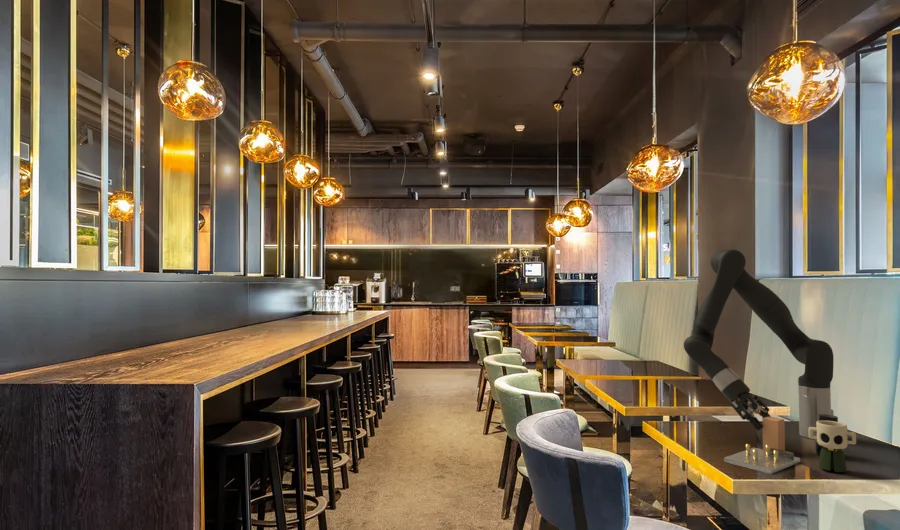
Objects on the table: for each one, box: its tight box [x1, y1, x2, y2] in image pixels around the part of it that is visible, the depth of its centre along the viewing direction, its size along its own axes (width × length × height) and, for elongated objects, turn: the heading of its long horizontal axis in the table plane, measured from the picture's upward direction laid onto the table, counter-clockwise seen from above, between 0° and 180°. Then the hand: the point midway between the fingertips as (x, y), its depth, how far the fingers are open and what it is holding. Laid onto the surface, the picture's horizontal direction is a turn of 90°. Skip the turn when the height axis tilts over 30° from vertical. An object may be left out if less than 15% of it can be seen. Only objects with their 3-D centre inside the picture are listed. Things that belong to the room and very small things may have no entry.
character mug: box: [808, 421, 857, 473], centre depth 153 cm, size 11×7×13 cm, turn 54°
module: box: [761, 415, 786, 451], centre depth 171 cm, size 4×4×10 cm
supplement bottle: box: [814, 414, 843, 457], centre depth 166 cm, size 7×7×12 cm
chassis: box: [723, 443, 801, 475], centre depth 160 cm, size 18×13×4 cm
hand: (767, 427), depth 172 cm, fingers open, 8 cm apart
